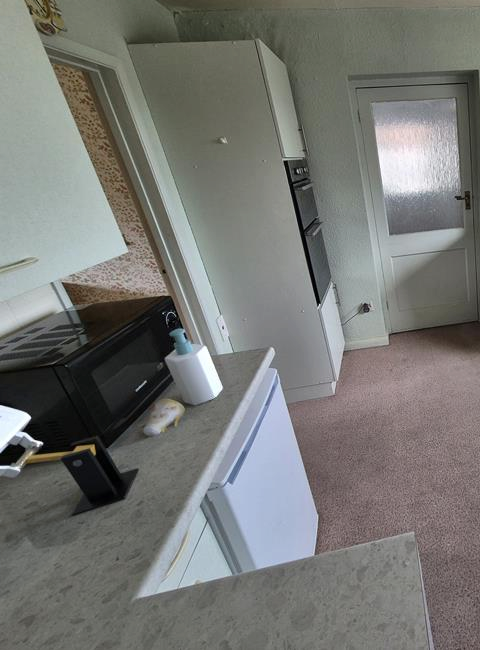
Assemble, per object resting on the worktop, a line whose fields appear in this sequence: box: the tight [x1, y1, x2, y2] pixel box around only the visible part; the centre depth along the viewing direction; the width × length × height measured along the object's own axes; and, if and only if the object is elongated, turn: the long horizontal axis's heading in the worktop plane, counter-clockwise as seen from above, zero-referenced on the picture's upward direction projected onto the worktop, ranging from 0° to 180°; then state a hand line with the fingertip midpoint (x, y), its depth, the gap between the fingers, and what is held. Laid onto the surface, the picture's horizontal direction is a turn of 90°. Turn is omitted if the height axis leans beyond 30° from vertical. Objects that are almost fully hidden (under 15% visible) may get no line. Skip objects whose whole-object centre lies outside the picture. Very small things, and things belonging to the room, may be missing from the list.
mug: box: [142, 398, 186, 437], centre depth 103 cm, size 8×10×10 cm
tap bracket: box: [61, 435, 140, 517], centre depth 81 cm, size 9×9×14 cm
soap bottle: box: [164, 328, 224, 406], centre depth 111 cm, size 10×9×22 cm
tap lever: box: [14, 445, 96, 470], centre depth 77 cm, size 11×6×2 cm, turn 113°
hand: (30, 459), depth 75 cm, fingers closed on tap lever, 5 cm apart
